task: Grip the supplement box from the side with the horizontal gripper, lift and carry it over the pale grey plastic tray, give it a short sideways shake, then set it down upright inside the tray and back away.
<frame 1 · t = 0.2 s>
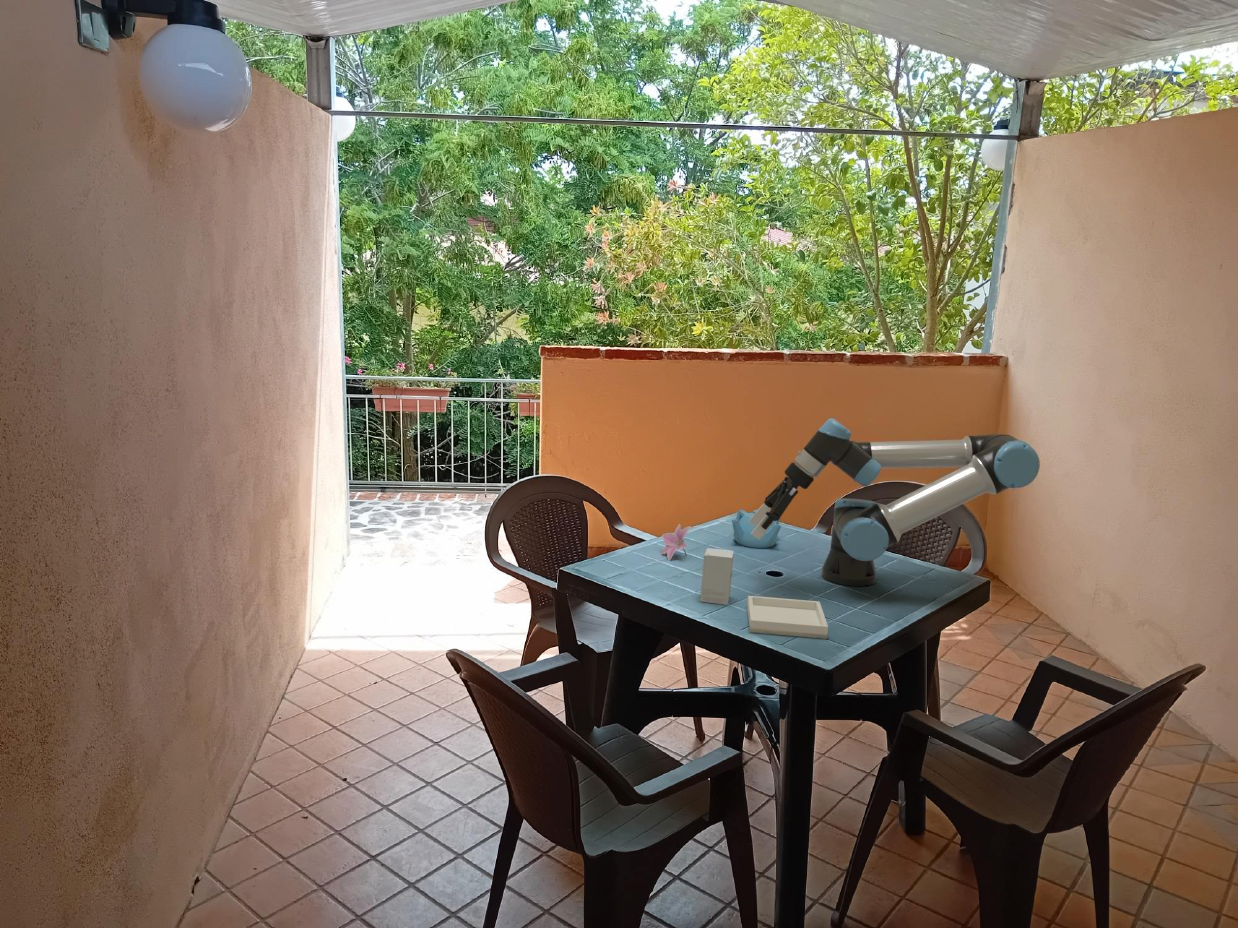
hand: (753, 530, 254), 15 cm above the table, tool tilted 35°, fingers open, 13 cm apart
tray: (785, 622, 230), on the table
lily: (674, 557, 280), on the table
supplement box: (715, 599, 244), on the table
teapot: (755, 544, 300), on the table
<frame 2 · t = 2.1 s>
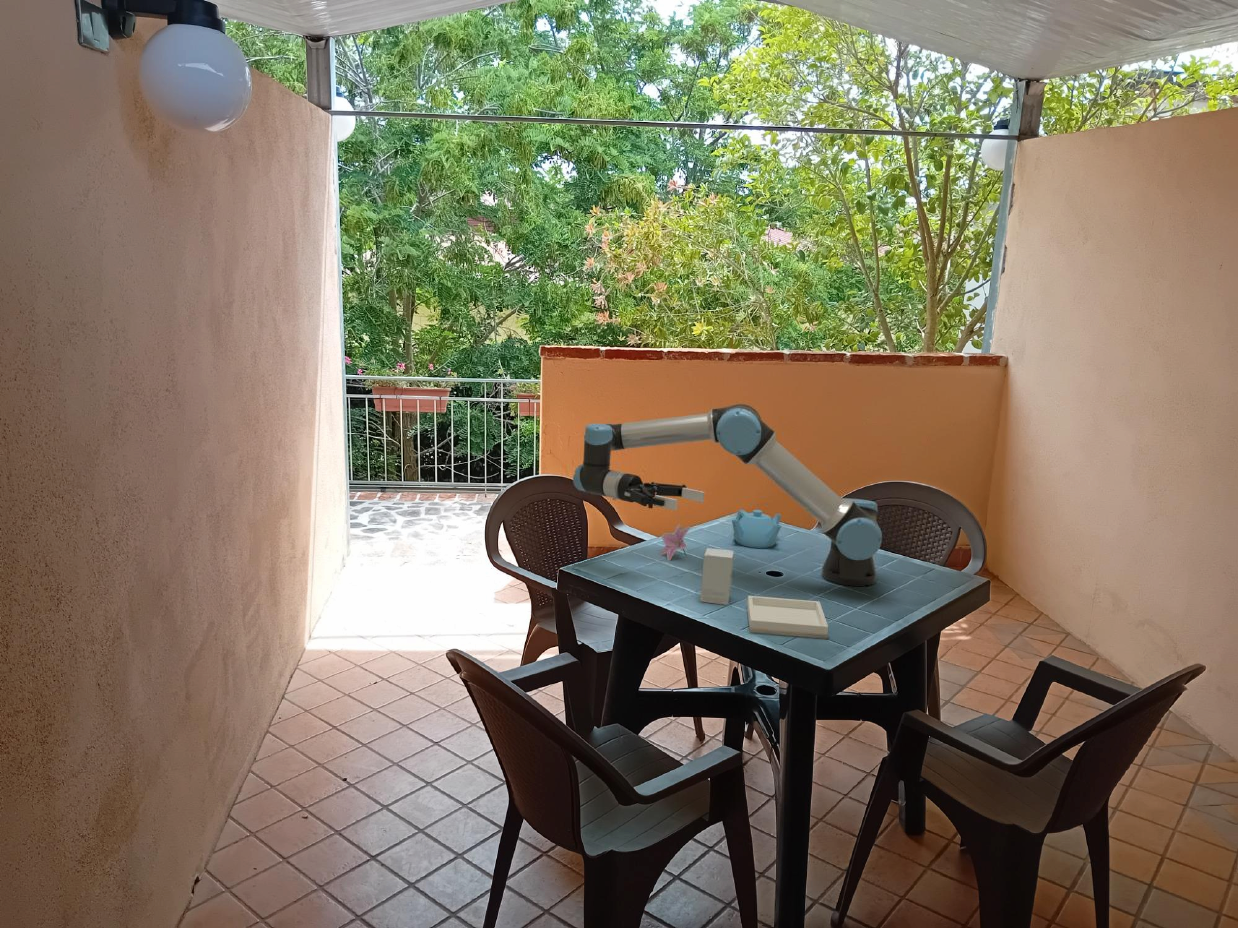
hand: (690, 501, 245), 24 cm above the table, tool horizontal, fingers open, 13 cm apart
nothing on the table moved.
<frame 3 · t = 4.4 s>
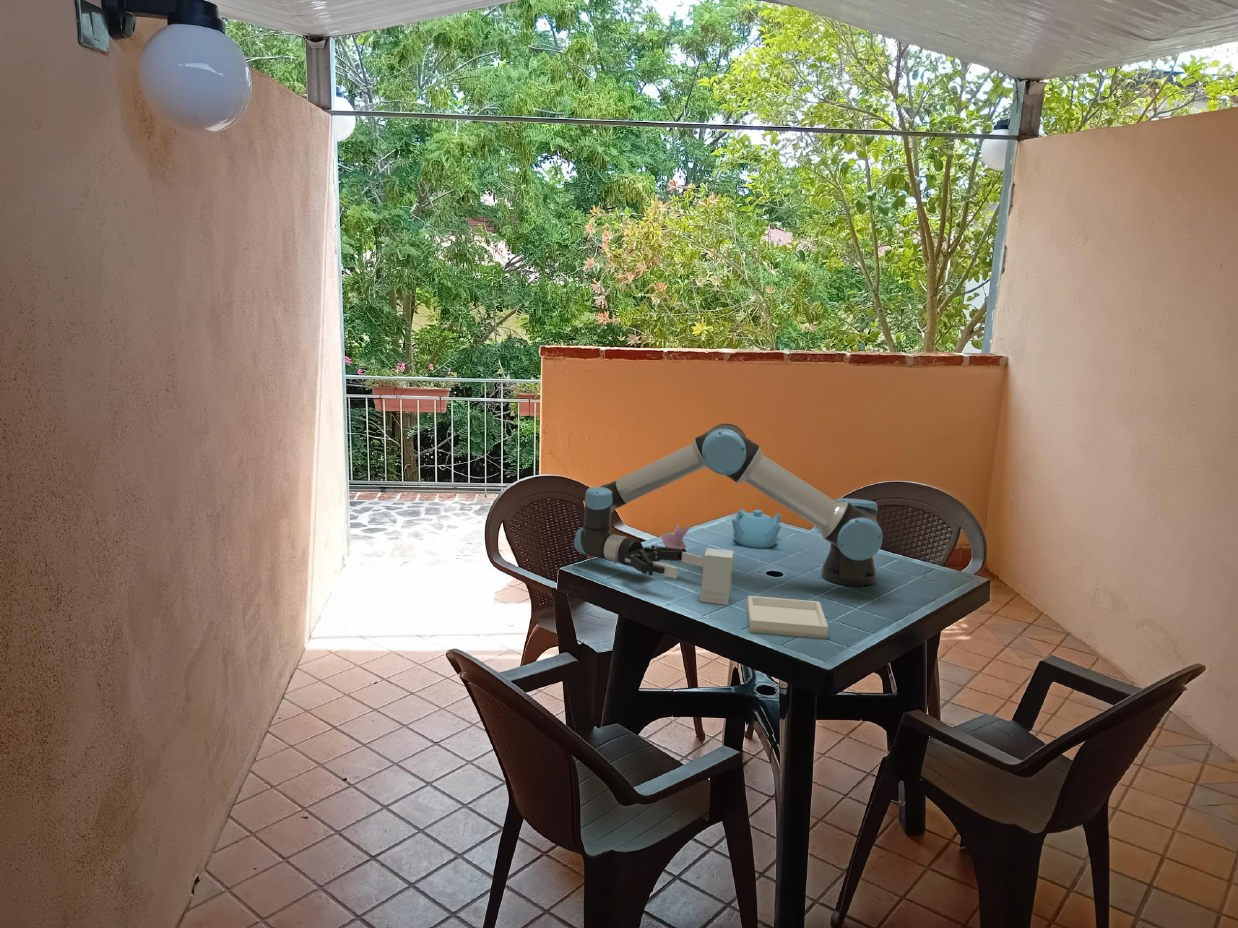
hand: (690, 567, 247), 7 cm above the table, tool horizontal, fingers open, 13 cm apart
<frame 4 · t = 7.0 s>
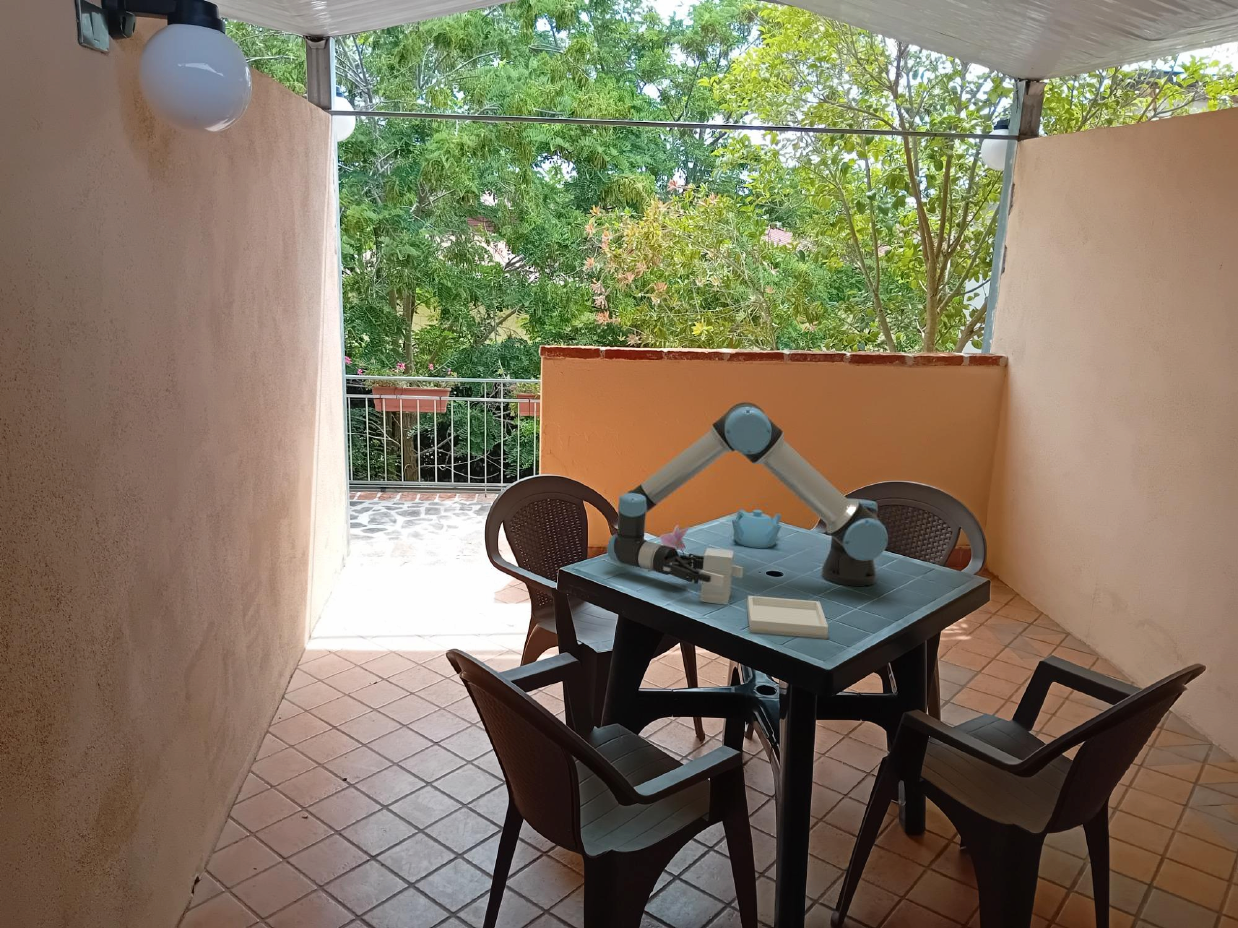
hand: (732, 576, 240), 7 cm above the table, tool horizontal, fingers closed on supplement box, 9 cm apart
supplement box: (715, 599, 244), on the table, touching gripper
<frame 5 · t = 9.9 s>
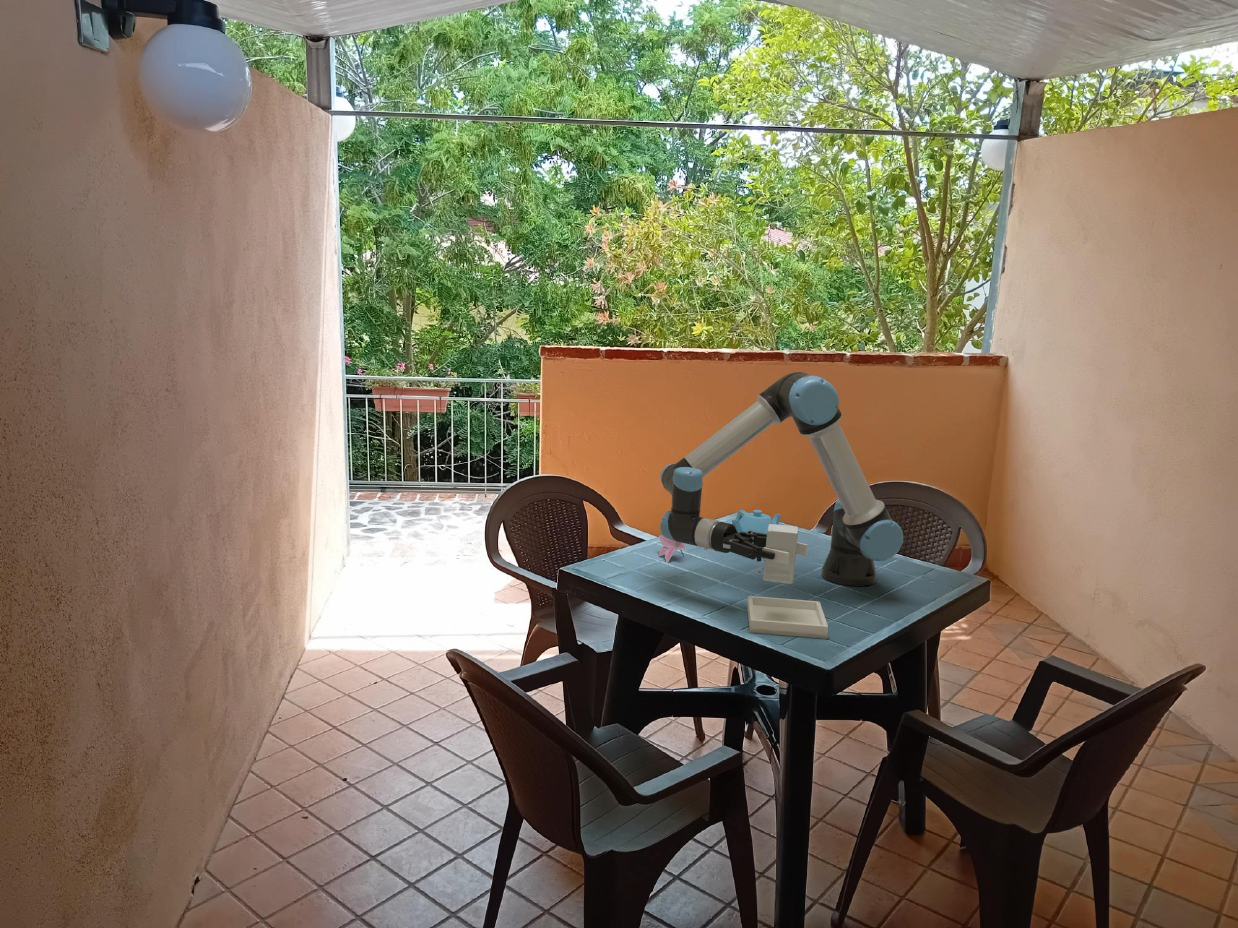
hand: (797, 554, 225), 18 cm above the table, tool horizontal, fingers closed on supplement box, 9 cm apart
supplement box: (778, 578, 229), point 10 cm above the table, touching gripper
when the fingers open (9 cm above the table, at t = 13.2 s): supplement box drops 1 cm, resting on tray.
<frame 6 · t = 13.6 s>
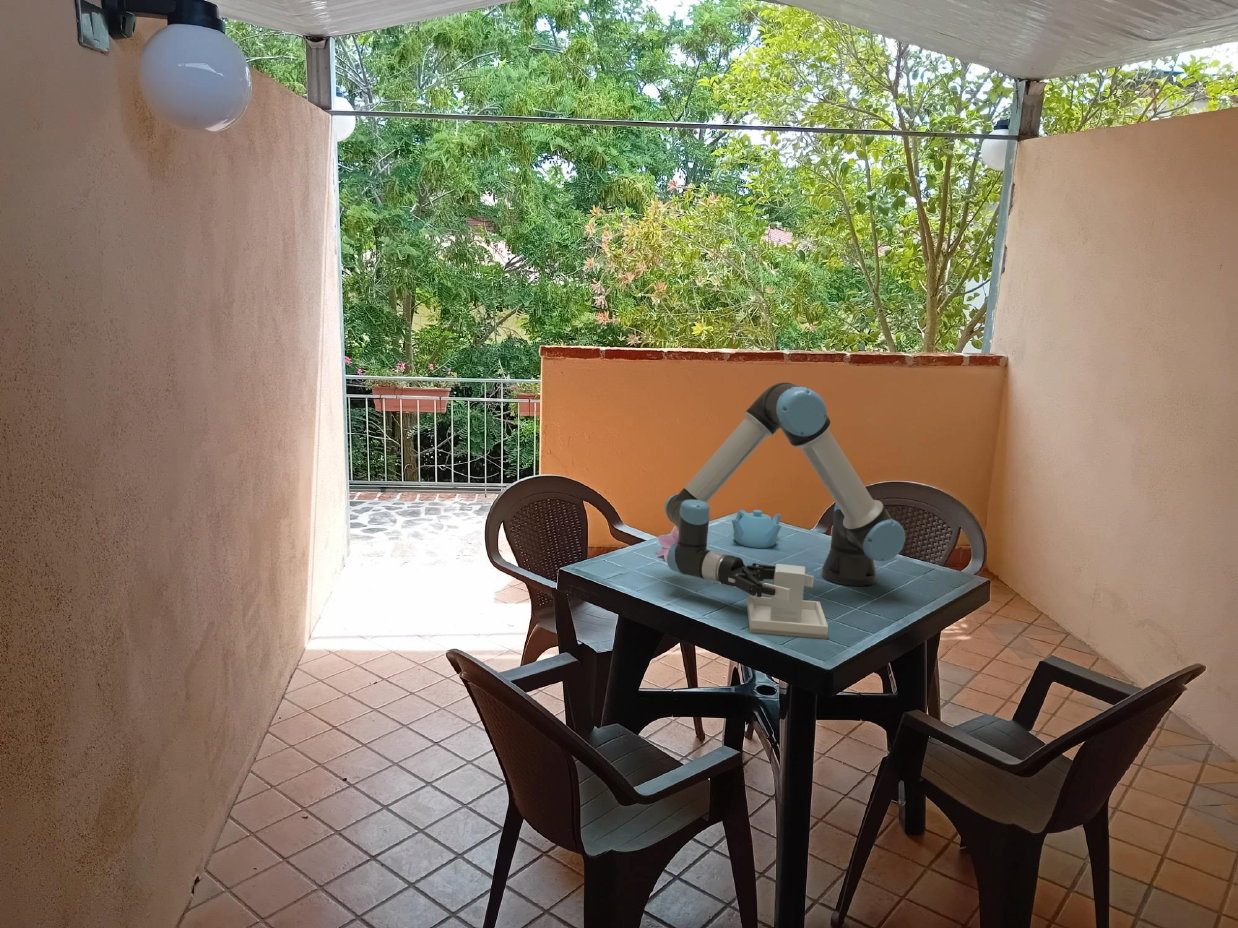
hand: (801, 588, 226), 10 cm above the table, tool horizontal, fingers open, 13 cm apart
supplement box: (785, 618, 230), point 1 cm above the table, touching tray
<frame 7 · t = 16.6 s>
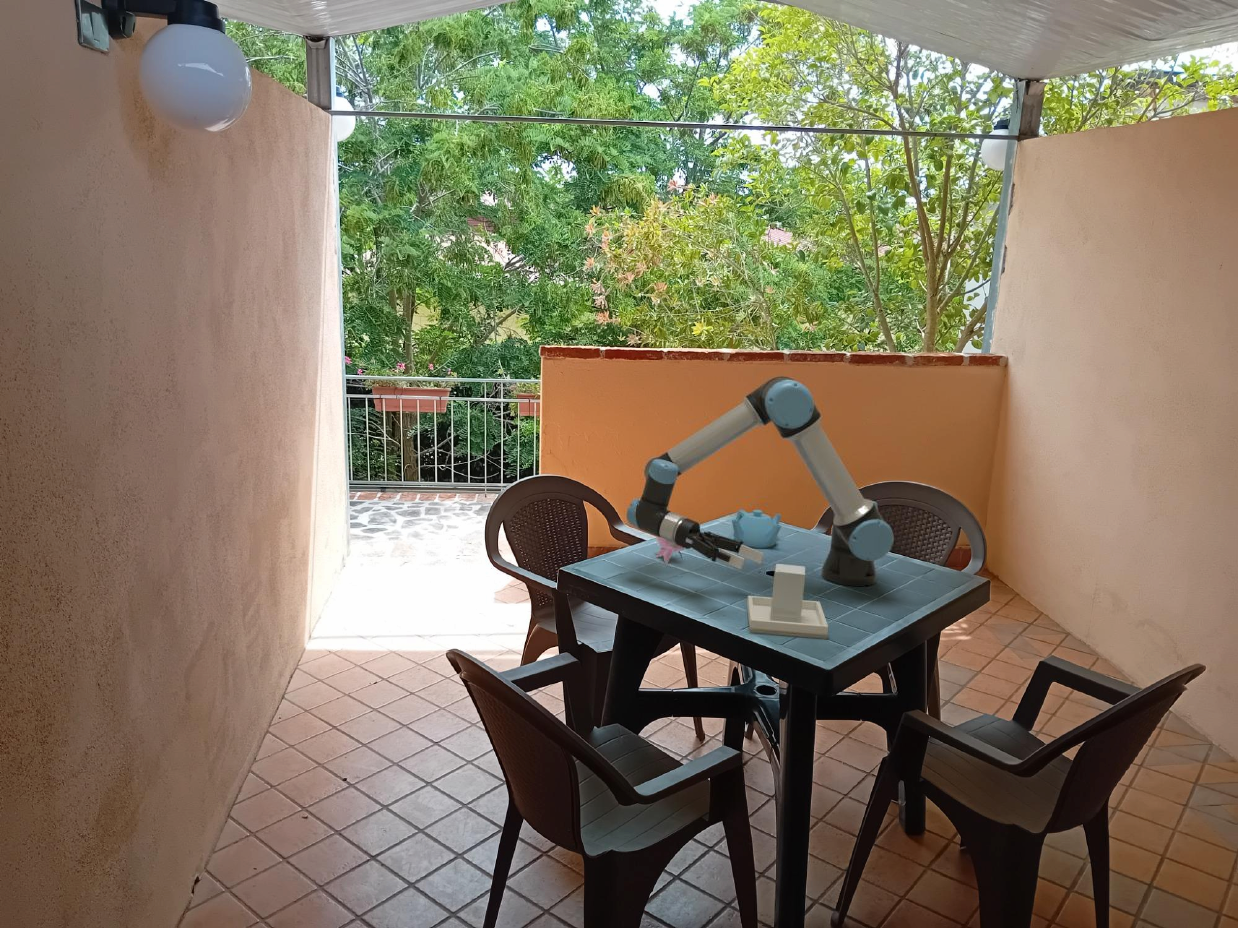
hand: (752, 561, 237), 12 cm above the table, tool horizontal, fingers open, 13 cm apart
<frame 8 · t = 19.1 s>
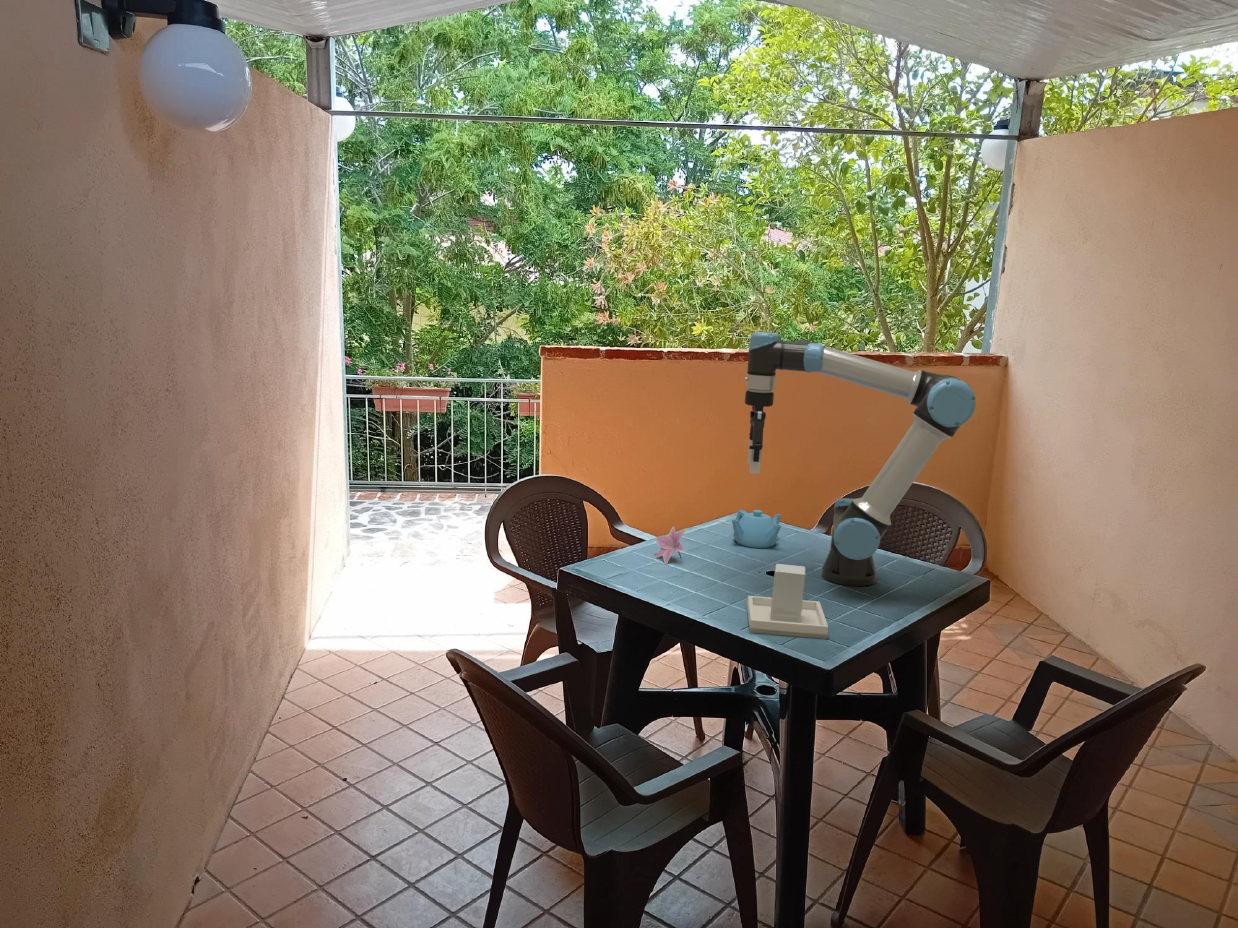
hand: (753, 468, 255), 32 cm above the table, tool pointing down, fingers open, 13 cm apart
at the end: supplement box inside the target area on the tray (0.2 cm from its centre), point 0.8 cm above the tray's base; supplement box tilted 0°; the gripper is holding nothing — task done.
